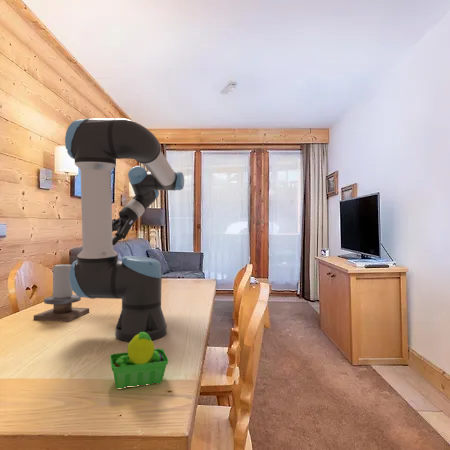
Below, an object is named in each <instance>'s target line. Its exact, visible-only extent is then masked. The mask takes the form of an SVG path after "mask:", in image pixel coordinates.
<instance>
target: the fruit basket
mask: <svg viewBox="0 0 450 450" xmlns="http://www.w3.org/2000/svg"><path fill="white" fill-rule="evenodd" d="M109 359H110V368H111V371H112V372H113V377H114V382H115V386H116V389H117V388H124V387H127V386H137V385H146V384H151V385H153V384H152V383H159V384H161V383H160V382H162V383H163V379H164V376H165V375H164V374H165V371H166V368H167V365H168V362H169V358H168V356H167V354H166V352H165V351H164V349H162V348H155V344H154V342H153V340H151V338H150V336H149V334H147V333H146V332H140V333H139V334H137V335H136V336H135V337H134V338H133V339H132V340H131V341H129V343H128V345H127V352H120V353H112V354H110V356H109ZM146 386H147V385H146Z"/></svg>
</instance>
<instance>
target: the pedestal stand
mask: <svg viewBox="0 0 450 450" xmlns="http://www.w3.org/2000/svg"><path fill="white" fill-rule="evenodd" d="M81 300H82V297H79V296H78V295H76V294H72V296H71V297H70V298H67V299H55V298H54V297H53V295H52V296H48V297H45V298H43V303H44V304H46V305H52V306H53V307H52V308H50V309H47V310H45V311H43V312H42V311H41V312H40V313H36V314H33V320H34V321H45V322H46V321H48V322H64V323H65V322H66V323H69V322H70V321H73V320H75V319H77V318H80V317H82V316H83V315H85V314H88V313H90V308H89V307H73V304H74V303H77V302H80V301H81Z"/></svg>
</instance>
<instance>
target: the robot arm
mask: <svg viewBox="0 0 450 450" xmlns="http://www.w3.org/2000/svg"><path fill="white" fill-rule="evenodd" d="M64 145H65V149H66V150H67V151H66V152H67V154H68V156H69V157H70V158H71V159H74V165H75V166H76V167H77V168H78V169H79V170H80V197H81V198H80V203H81V206H80V207H81V237H82V238H81V239H82V241H81V242H82V243H81V244H82V250H81V251H80V252H79V253H78V254H77V259H76V260H74V261H73V262H72V264H70V265H71V270H70V272H69V280H70V285H71V288H72V292H73V293H74V294H75V295H78V296H79V297H81V298H84V299H85V298H87V299H91V300H92V299H93V300H95V299H113V300H114V299H115V300H118V299H119V300H121V311H120V314H119V318H118V320H117V323H116V325H115V337H116V338H117V340H121V341H124V342H130V341H131V340H132V339H133V338H134V337H135V336H136V335H137V334H139V333H140V332H146V333H147V334H149V336H150V338H151V340H152V341H154V340H157V339H160V338H162V337H164V336H165V335H166V334H167V332H168V331H167V330H168V329H167V327H168V326H167V322H166V319H165V316H164V312H163V310H162V283H163V282H162V277H163V274H162V264H161V262H160V261H159V260H158V259H156V258H152V257H148V256H140V255H125V256H123V257H122V259H120V260H119V255H118V252H117V251H116V250H115V249H114V247H116V245H117V244H118V243H119V242H120V241H121V240H122V239H123V240H125V239H126V238H127V236H128V234H129V232H130V230H131V228H132V227H133V225H134V224H135V223H136V221H138V220H139V218H140V217H141V216H143V214H144V213H145V212H146V210H147V209H148V208H149V207H150V206H151V205H152V204H153V203H154V202H155V201H156V200H157V198H158V197H159V195H160V192H159V191H174V192H175V191H182V190H183V189H184V185H185V177H184V176H185V175H184V173H183V172H181V171H174V169H173V168H172V167H171V165H170V163H169V161H168V160H167V158H166V156H165V155H164V154H163V152H162V150H161V149H162V147H161V143H160V141H159V139H158V138H157V137H156V135H155V134H154V133H153V132H152V131H151V130H149V129H148V128H146V126H143V125H141V123H138V122H136V121H134V120H131V119H128V118H119V117H117V118H89V117H88V118H84V119H83V118H82V119H75V120H74V121H71V123H70V124H69V125H68V126H67V129H66V132H65V137H64ZM122 159H125V160H126V159H127V160H128V159H129V160H130V159H131V160H135V161H136V162H137V163H139V164H142V165H143V166H144V167H143V166H140V165H136V166H133V167H132V168H130V169H129V171H128V172H127V176H128V179H129V184H130V185H131V188H132V191H133V192H134V196H133V197H132V198H131V199H130V200H129V201H128V203H126V204H125V206H123V208H122V209H121V210H120V211H119V212H118V216H119V218H117V219H116V218H113V213H112V212H113V209H112V208H113V206H112V205H113V204H112V202H113V201H112V170H114V169H115V168H116V167H117V160H122ZM114 232H116V233H114ZM113 233H114V235H113Z"/></svg>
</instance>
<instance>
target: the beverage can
mask: <svg viewBox="0 0 450 450" xmlns="http://www.w3.org/2000/svg"><path fill="white" fill-rule="evenodd" d="M71 265H72V264H64V263H63V264H55V265H53V266H54V267H53V269H52V296H53V297H54V298H55V299H67V298H70V297H71V296H72V295H73V290H72V288H71V285H70V280H69V272H70V270H71Z"/></svg>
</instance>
